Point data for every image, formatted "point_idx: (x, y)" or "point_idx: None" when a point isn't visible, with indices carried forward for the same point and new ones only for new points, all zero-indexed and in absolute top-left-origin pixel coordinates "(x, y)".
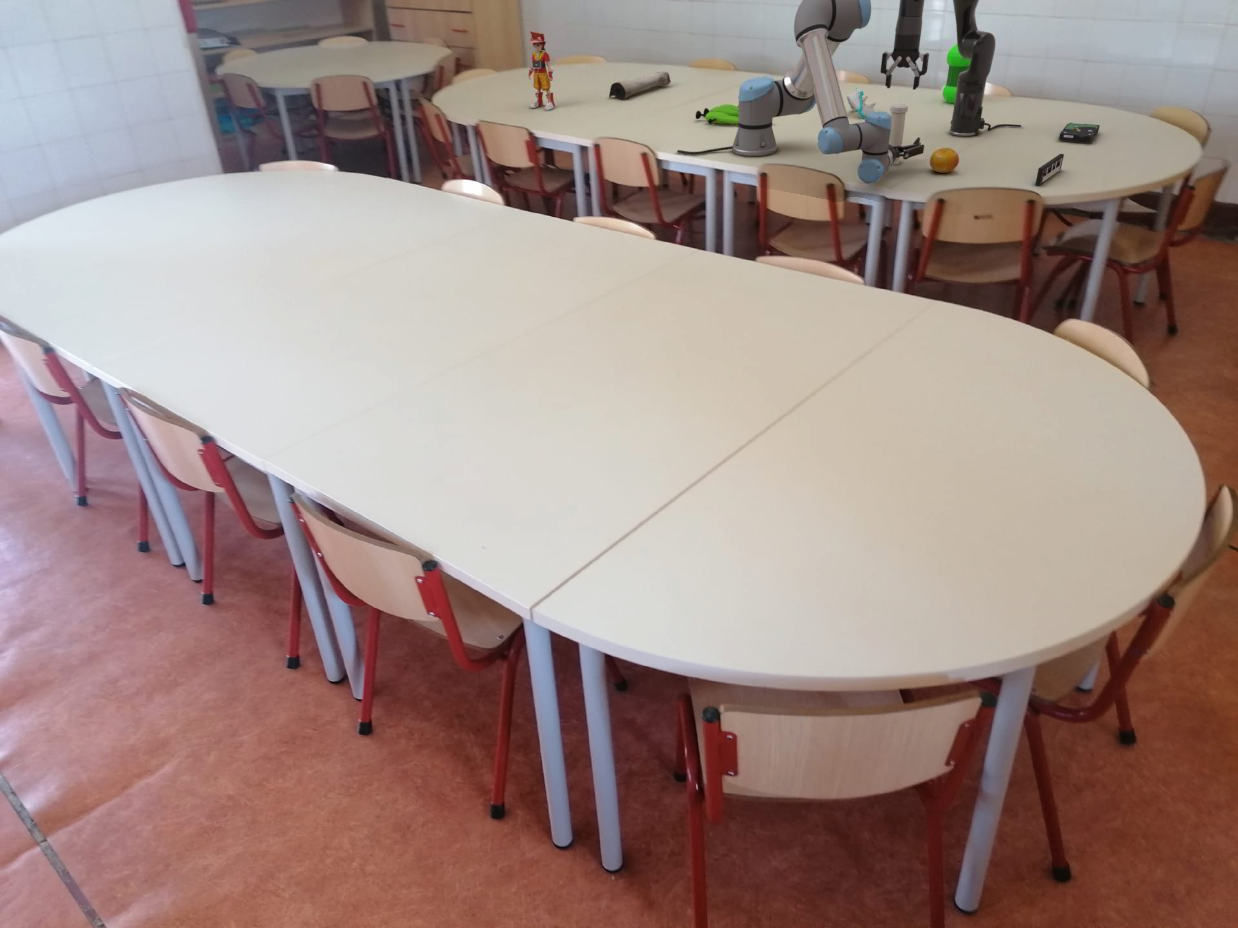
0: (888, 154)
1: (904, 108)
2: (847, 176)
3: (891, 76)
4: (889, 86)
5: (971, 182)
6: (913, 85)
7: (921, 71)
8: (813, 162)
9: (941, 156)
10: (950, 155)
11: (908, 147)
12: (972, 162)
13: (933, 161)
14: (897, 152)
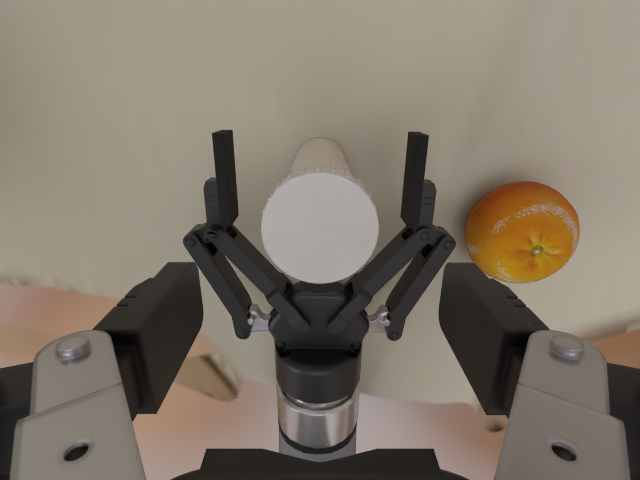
0: (349, 430)
1: (362, 262)
2: (224, 334)
3: (149, 339)
4: (196, 320)
5: (584, 292)
6: (453, 346)
7: (637, 472)
8: (61, 234)
9: (517, 282)
10: (552, 273)
11: (393, 272)
12: (614, 68)
13: (482, 270)
14: (363, 337)
